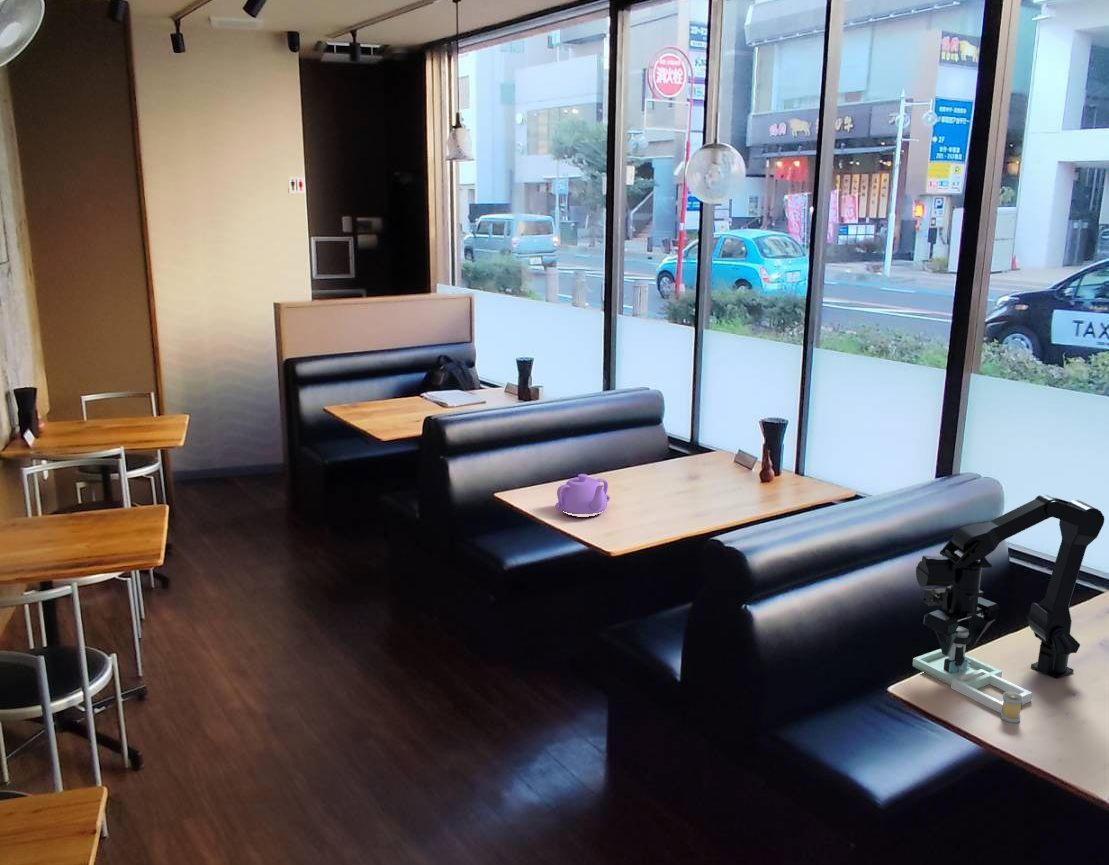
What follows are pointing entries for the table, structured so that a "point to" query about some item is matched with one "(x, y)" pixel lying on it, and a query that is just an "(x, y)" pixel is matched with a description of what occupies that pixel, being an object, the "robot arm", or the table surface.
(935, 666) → the parts tray
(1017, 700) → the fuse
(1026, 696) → the pale rectangular frame
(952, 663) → the push button
